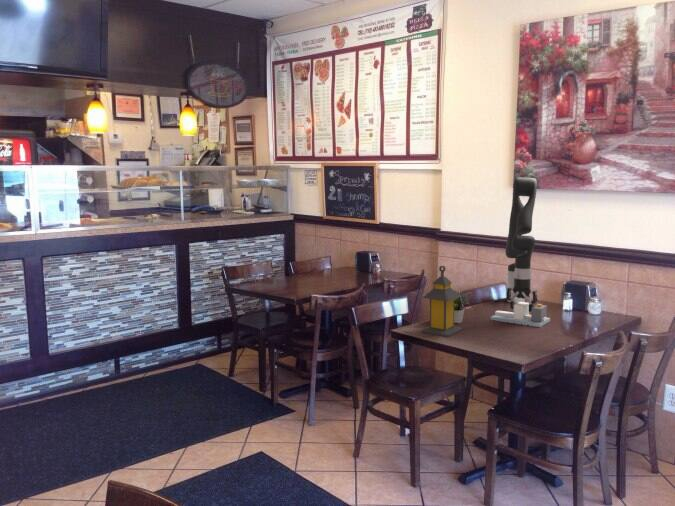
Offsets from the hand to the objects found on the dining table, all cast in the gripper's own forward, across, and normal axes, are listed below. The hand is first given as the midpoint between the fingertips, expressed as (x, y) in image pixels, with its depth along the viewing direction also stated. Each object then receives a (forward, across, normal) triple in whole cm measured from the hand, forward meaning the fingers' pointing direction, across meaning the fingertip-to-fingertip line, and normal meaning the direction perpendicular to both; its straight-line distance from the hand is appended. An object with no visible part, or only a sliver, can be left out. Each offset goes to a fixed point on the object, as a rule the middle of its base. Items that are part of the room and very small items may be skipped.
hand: (521, 310), depth 288 cm
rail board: (+5, 0, 0) cm, 5 cm away
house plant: (+5, +23, +20) cm, 31 cm away
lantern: (+5, +22, +38) cm, 44 cm away
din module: (+3, 0, 0) cm, 4 cm away
